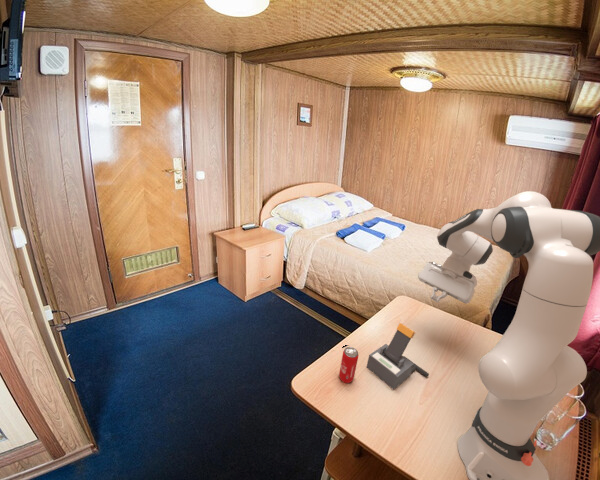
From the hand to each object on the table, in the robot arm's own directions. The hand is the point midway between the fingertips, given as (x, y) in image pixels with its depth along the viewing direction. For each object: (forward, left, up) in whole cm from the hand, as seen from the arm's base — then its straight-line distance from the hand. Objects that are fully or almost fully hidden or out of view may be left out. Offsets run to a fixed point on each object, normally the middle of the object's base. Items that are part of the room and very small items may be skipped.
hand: (434, 300), depth 114 cm
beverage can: (+7, +37, -23) cm, 44 cm away
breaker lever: (0, +22, -16) cm, 27 cm away
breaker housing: (0, +22, -23) cm, 32 cm away
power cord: (-5, +13, -23) cm, 27 cm away
